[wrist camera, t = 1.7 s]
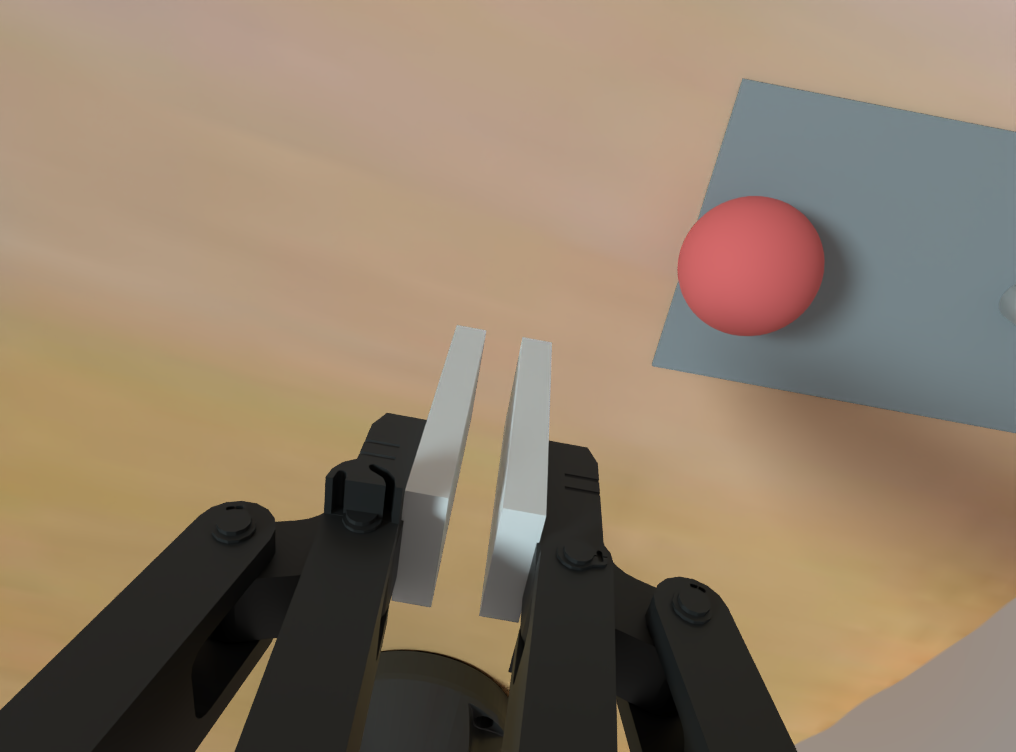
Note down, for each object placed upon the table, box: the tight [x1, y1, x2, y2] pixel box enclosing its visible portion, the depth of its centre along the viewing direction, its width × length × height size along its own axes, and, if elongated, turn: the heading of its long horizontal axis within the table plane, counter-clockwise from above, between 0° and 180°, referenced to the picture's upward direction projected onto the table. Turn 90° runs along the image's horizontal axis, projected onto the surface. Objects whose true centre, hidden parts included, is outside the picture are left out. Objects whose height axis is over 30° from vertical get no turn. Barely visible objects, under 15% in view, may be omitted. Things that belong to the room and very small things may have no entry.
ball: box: [678, 196, 825, 336], centre depth 30 cm, size 6×6×6 cm
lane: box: [652, 79, 1016, 433], centre depth 32 cm, size 14×26×1 cm, turn 80°
